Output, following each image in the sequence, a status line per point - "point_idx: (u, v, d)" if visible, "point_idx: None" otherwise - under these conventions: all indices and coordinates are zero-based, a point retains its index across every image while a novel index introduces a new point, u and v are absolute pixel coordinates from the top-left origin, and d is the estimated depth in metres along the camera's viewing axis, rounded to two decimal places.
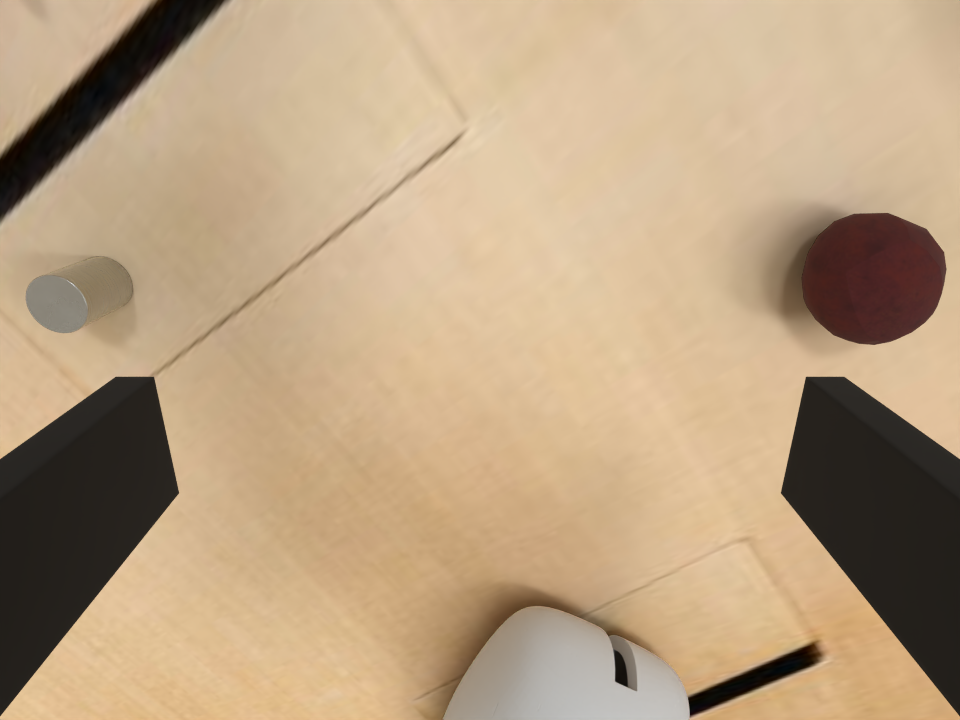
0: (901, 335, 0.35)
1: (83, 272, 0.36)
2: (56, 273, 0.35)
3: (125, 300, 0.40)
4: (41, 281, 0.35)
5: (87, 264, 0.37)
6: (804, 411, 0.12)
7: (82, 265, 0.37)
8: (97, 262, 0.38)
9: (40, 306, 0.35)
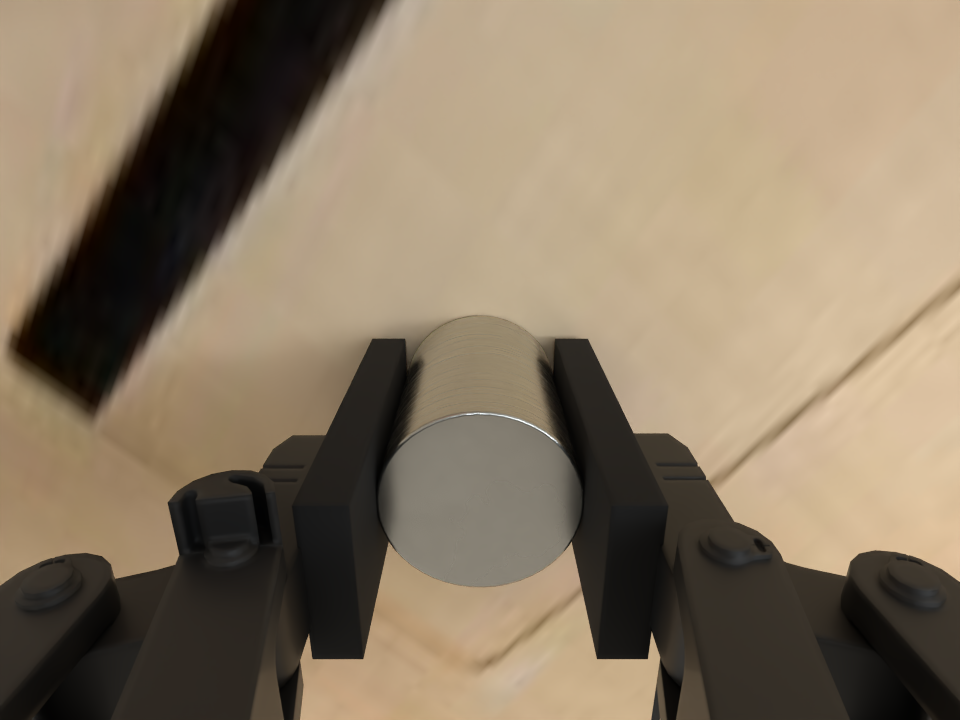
0: None
1: (511, 375, 0.11)
2: (467, 400, 0.10)
3: None
4: (430, 440, 0.10)
5: (487, 347, 0.12)
6: (555, 368, 0.14)
7: (479, 352, 0.12)
8: (490, 334, 0.13)
9: (425, 520, 0.10)
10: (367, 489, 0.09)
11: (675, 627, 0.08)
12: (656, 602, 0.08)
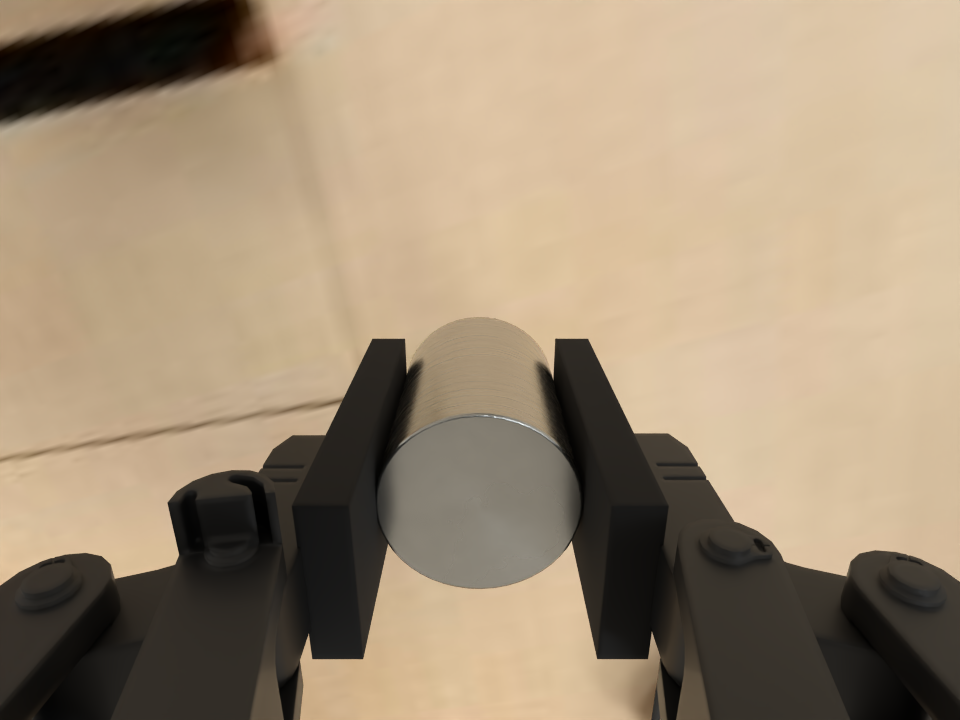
0: None
1: (511, 377, 0.11)
2: (466, 402, 0.10)
3: None
4: (429, 442, 0.10)
5: (486, 348, 0.12)
6: (555, 368, 0.14)
7: (478, 354, 0.12)
8: (489, 335, 0.13)
9: (424, 522, 0.10)
10: (367, 489, 0.09)
11: (675, 627, 0.08)
12: (656, 602, 0.08)
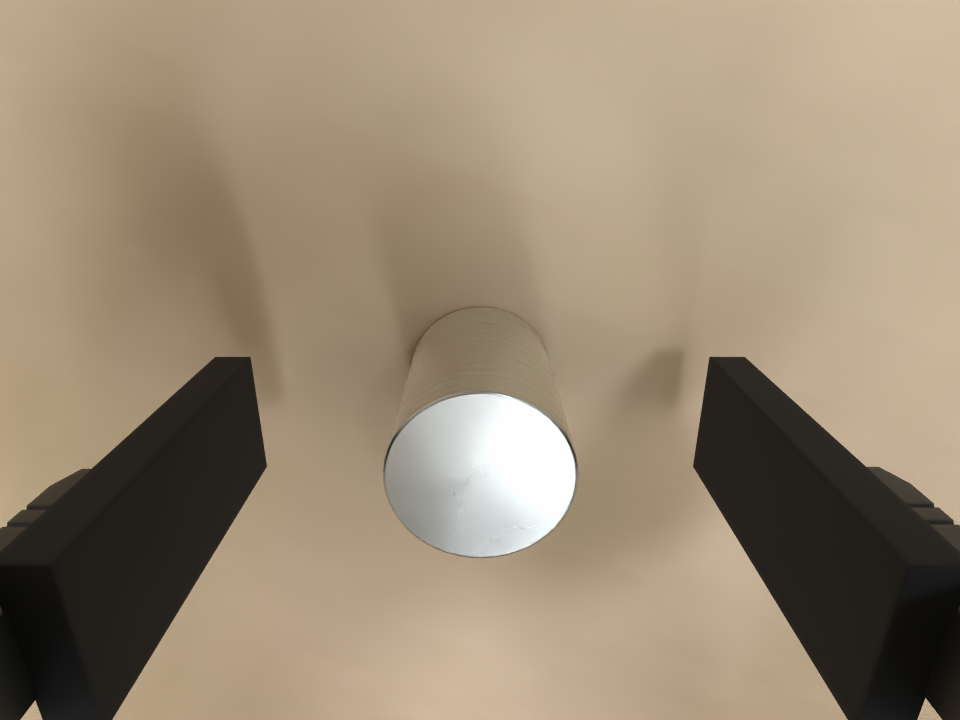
0: None
1: (510, 360, 0.12)
2: (468, 381, 0.11)
3: None
4: (435, 418, 0.10)
5: (487, 334, 0.13)
6: (708, 389, 0.13)
7: (479, 339, 0.13)
8: (490, 323, 0.14)
9: (429, 494, 0.11)
10: (121, 537, 0.08)
11: None
12: (947, 673, 0.07)
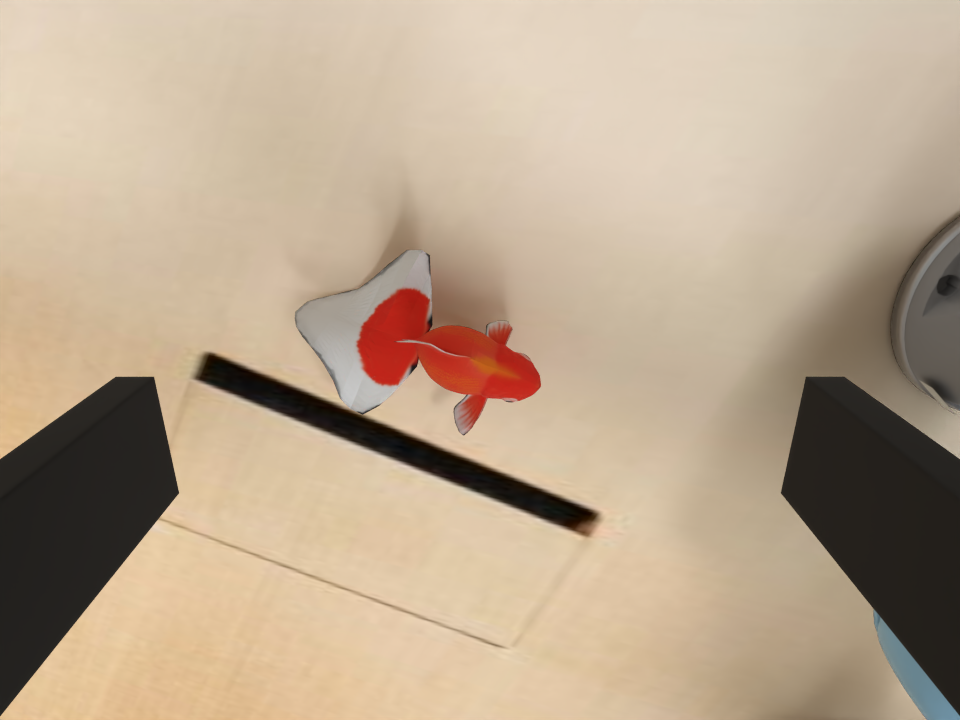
0: None
1: None
2: None
3: None
4: None
5: None
6: (804, 411, 0.12)
7: None
8: None
9: None
10: None
11: None
12: None
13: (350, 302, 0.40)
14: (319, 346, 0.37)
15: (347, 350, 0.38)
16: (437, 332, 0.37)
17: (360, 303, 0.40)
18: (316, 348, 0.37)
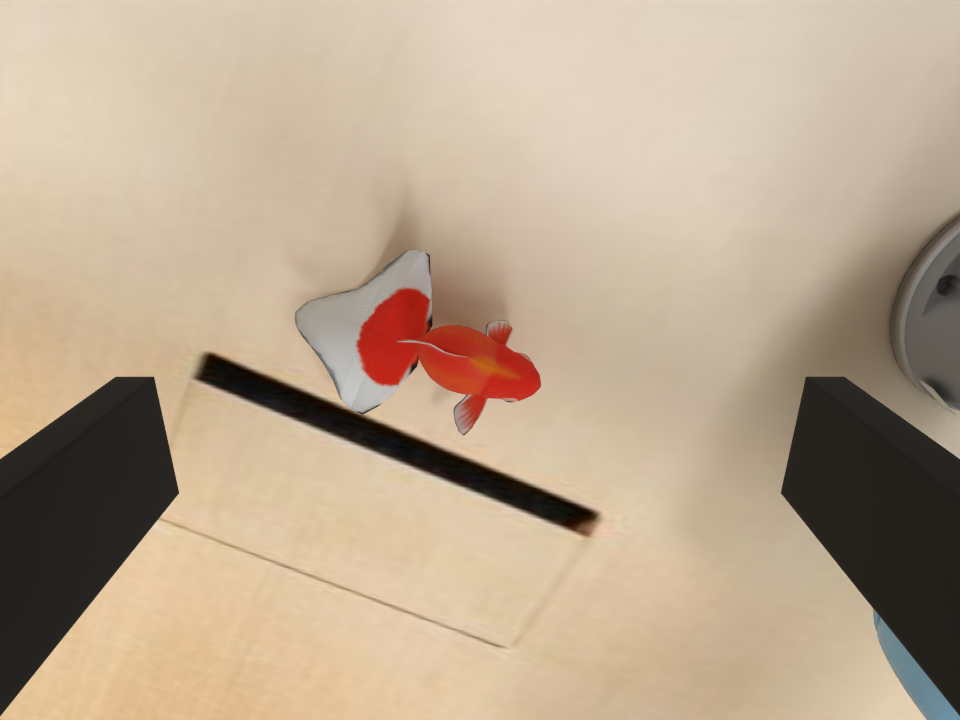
0: None
1: None
2: None
3: None
4: None
5: None
6: (804, 411, 0.12)
7: None
8: None
9: None
10: None
11: None
12: None
13: (350, 302, 0.40)
14: (319, 346, 0.37)
15: (347, 350, 0.38)
16: (437, 332, 0.37)
17: (360, 303, 0.40)
18: (316, 348, 0.37)
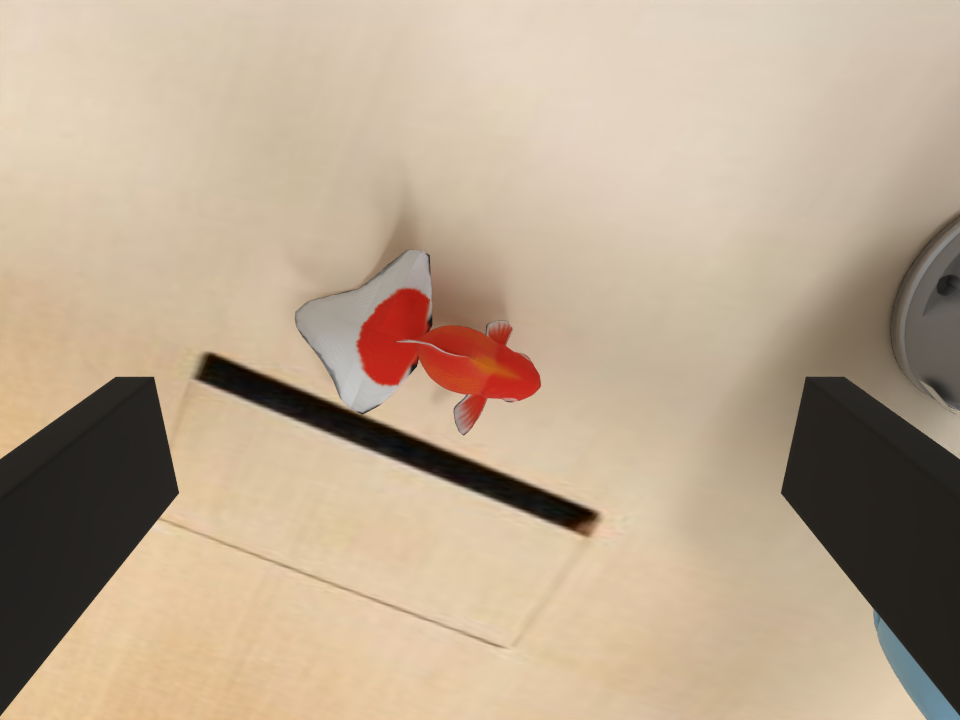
0: None
1: None
2: None
3: None
4: None
5: None
6: (804, 411, 0.12)
7: None
8: None
9: None
10: None
11: None
12: None
13: (350, 302, 0.40)
14: (319, 346, 0.37)
15: (347, 350, 0.38)
16: (437, 332, 0.37)
17: (360, 303, 0.40)
18: (316, 348, 0.37)
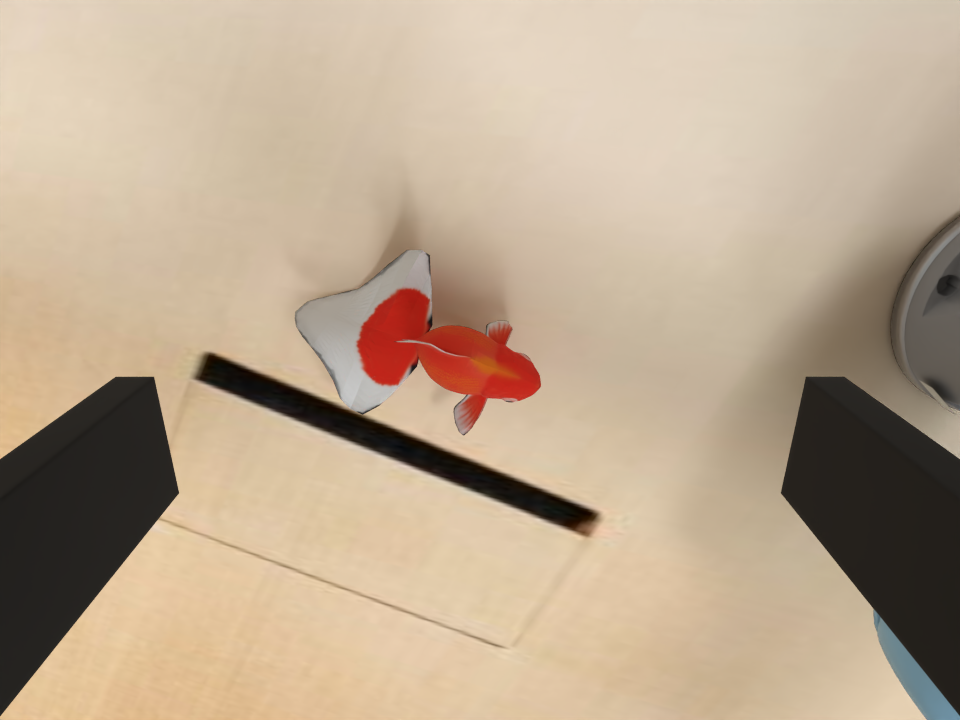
0: None
1: None
2: None
3: None
4: None
5: None
6: (804, 411, 0.12)
7: None
8: None
9: None
10: None
11: None
12: None
13: (350, 302, 0.40)
14: (319, 346, 0.37)
15: (347, 350, 0.38)
16: (437, 332, 0.37)
17: (360, 303, 0.40)
18: (316, 348, 0.37)
